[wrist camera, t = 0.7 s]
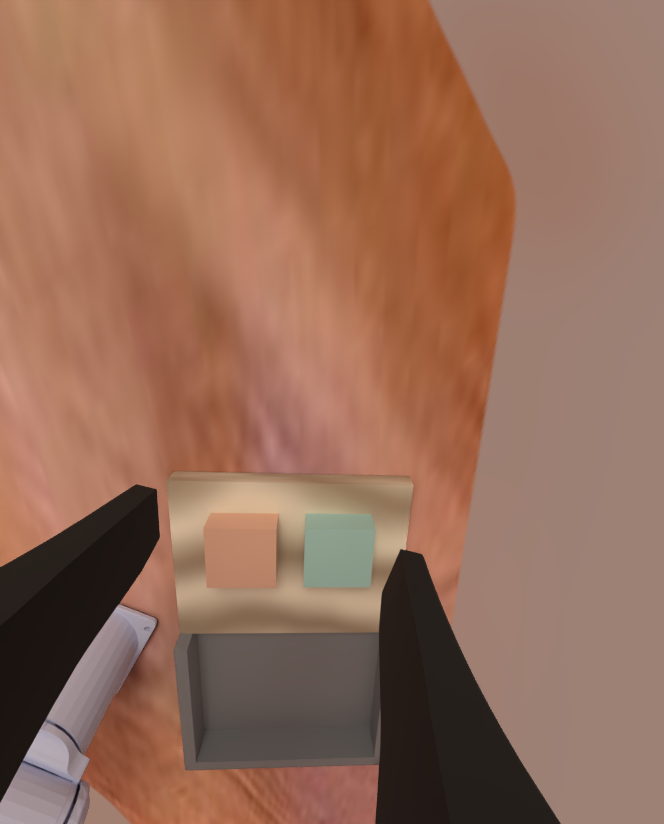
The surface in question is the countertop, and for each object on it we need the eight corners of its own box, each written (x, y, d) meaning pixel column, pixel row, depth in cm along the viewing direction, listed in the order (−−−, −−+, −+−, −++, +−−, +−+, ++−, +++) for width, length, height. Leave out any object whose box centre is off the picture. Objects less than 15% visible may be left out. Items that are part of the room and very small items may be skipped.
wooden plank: (391, 617, 33) (395, 632, 32) (185, 618, 32) (180, 633, 31) (408, 476, 29) (413, 485, 28) (173, 471, 28) (166, 480, 27)
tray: (378, 728, 38) (383, 764, 35) (195, 733, 36) (185, 770, 34) (391, 617, 33) (399, 647, 31) (185, 618, 32) (173, 650, 29)
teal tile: (366, 568, 30) (370, 587, 28) (303, 568, 30) (303, 587, 28) (371, 514, 28) (375, 529, 27) (305, 513, 28) (305, 529, 26)
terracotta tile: (278, 569, 29) (275, 587, 28) (213, 568, 29) (206, 587, 27) (278, 513, 28) (276, 529, 26) (210, 512, 28) (203, 528, 26)
